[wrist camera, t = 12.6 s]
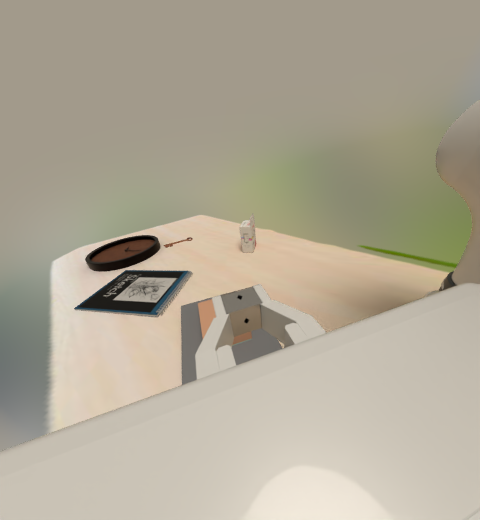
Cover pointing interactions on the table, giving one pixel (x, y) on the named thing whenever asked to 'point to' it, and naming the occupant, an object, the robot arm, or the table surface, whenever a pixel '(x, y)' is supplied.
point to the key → (177, 242)
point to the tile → (207, 317)
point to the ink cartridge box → (248, 235)
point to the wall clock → (123, 253)
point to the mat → (242, 352)
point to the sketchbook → (137, 293)
